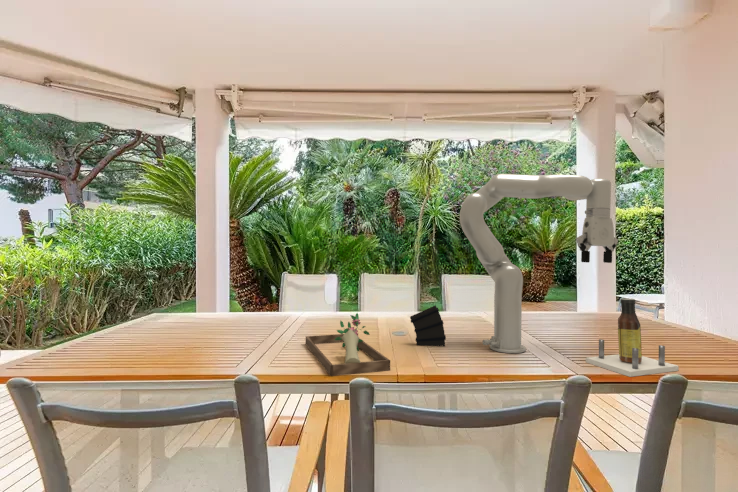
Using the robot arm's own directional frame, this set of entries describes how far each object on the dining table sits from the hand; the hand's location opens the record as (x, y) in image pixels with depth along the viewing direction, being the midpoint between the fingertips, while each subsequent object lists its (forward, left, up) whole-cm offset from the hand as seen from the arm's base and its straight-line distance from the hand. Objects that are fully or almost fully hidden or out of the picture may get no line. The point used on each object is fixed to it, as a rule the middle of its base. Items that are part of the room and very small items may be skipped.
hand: (596, 262), depth 149 cm
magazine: (-51, +30, -33) cm, 68 cm away
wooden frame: (-86, +24, -32) cm, 95 cm away
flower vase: (-84, +21, -33) cm, 93 cm away
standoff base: (-2, -15, -32) cm, 36 cm away
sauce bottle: (-2, -15, -31) cm, 35 cm away
